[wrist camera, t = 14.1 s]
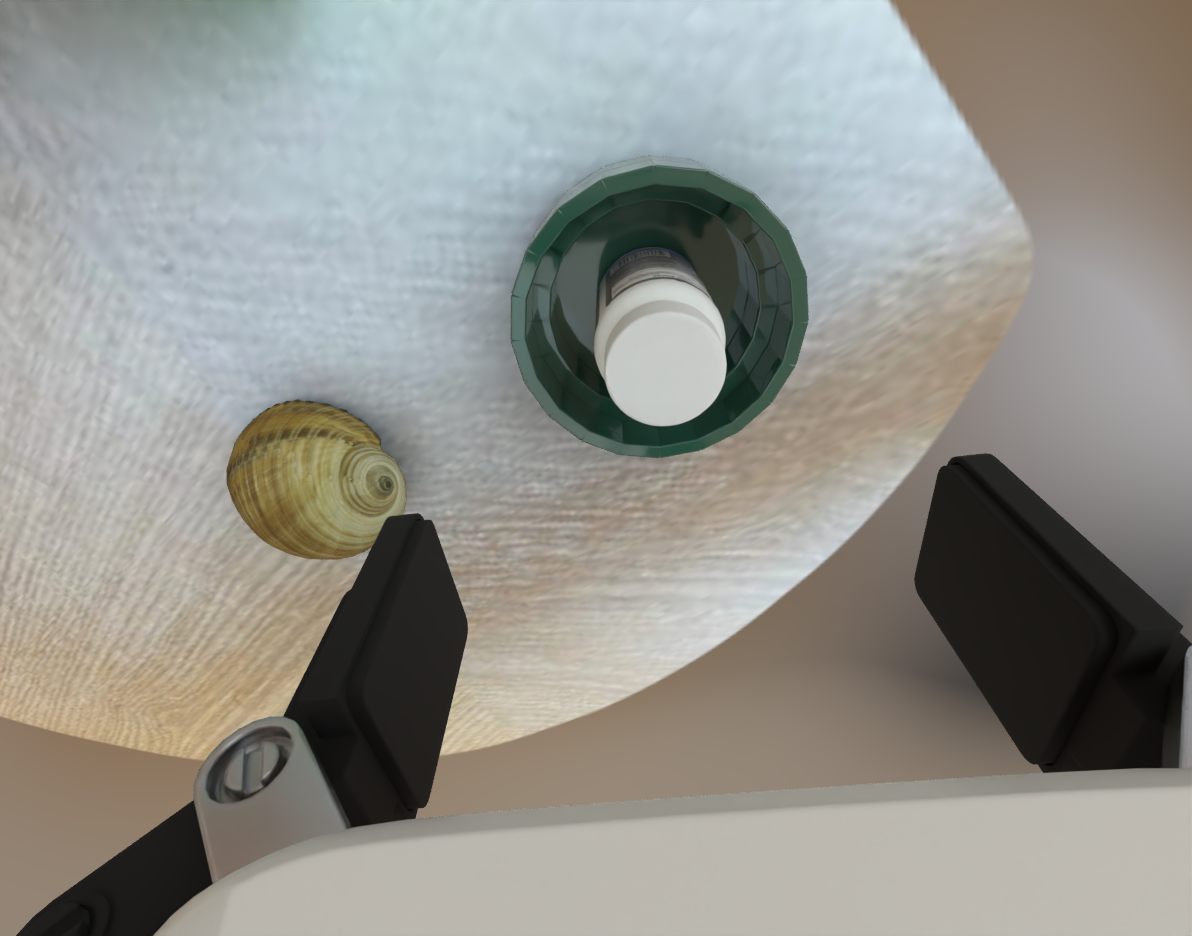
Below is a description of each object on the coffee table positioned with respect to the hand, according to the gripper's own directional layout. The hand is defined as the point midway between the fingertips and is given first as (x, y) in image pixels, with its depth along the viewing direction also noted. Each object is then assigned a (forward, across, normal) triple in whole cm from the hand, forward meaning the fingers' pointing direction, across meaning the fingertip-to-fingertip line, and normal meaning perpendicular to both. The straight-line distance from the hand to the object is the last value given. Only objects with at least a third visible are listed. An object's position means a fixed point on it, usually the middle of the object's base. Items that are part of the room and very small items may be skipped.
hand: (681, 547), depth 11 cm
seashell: (+18, +17, +8) cm, 26 cm away
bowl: (+18, -1, 0) cm, 18 cm away
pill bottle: (+18, -1, +1) cm, 18 cm away
